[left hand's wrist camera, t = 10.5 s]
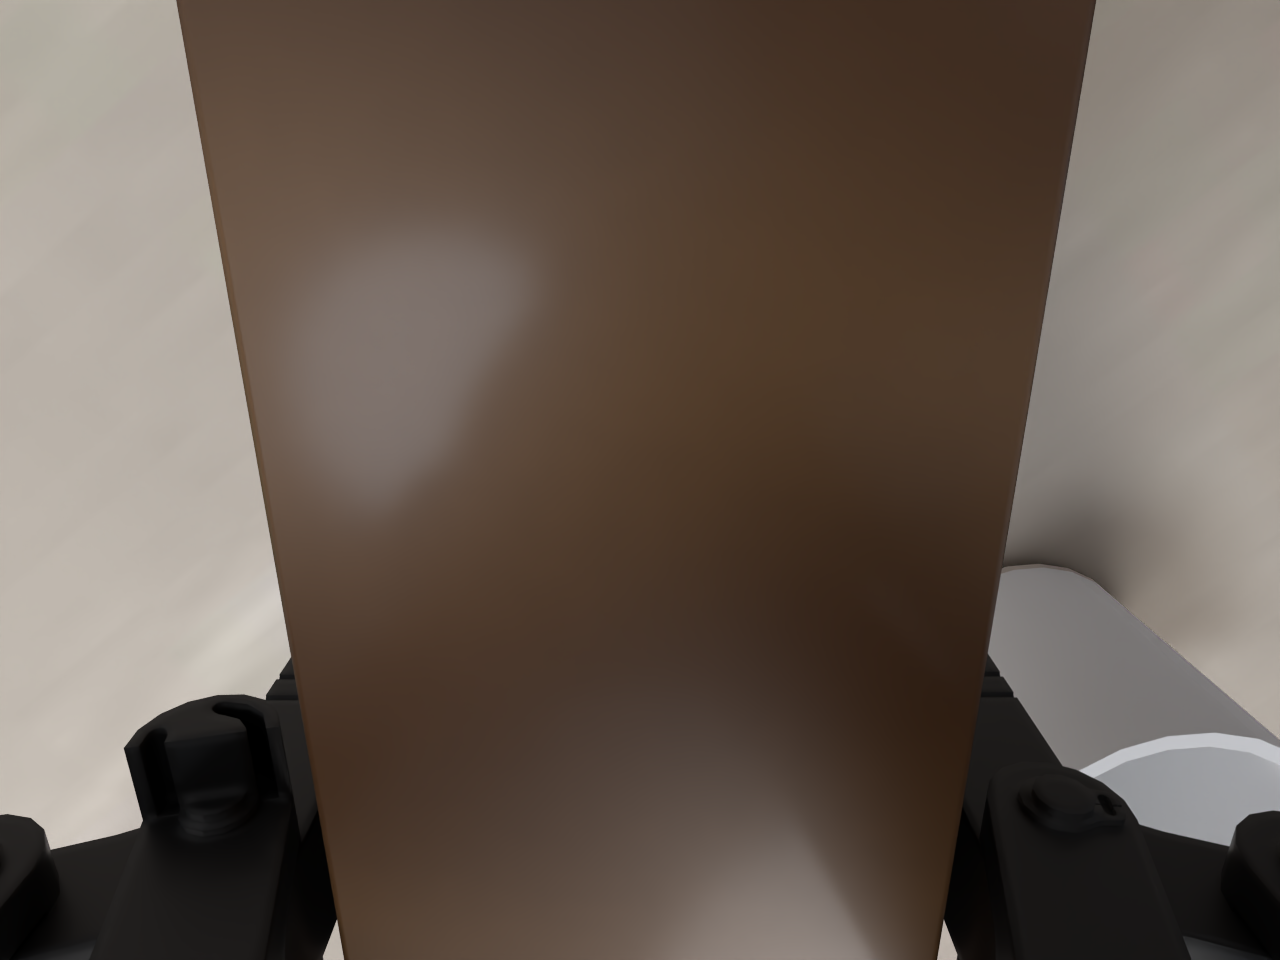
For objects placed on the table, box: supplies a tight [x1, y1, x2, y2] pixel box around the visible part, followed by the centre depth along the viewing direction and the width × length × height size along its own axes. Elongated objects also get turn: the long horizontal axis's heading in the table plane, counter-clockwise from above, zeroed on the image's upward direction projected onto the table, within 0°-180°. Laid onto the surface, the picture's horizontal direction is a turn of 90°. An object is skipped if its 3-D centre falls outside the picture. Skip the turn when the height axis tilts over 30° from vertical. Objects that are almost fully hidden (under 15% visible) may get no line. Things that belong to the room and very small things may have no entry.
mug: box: [988, 564, 1280, 846], centre depth 28 cm, size 11×9×10 cm
